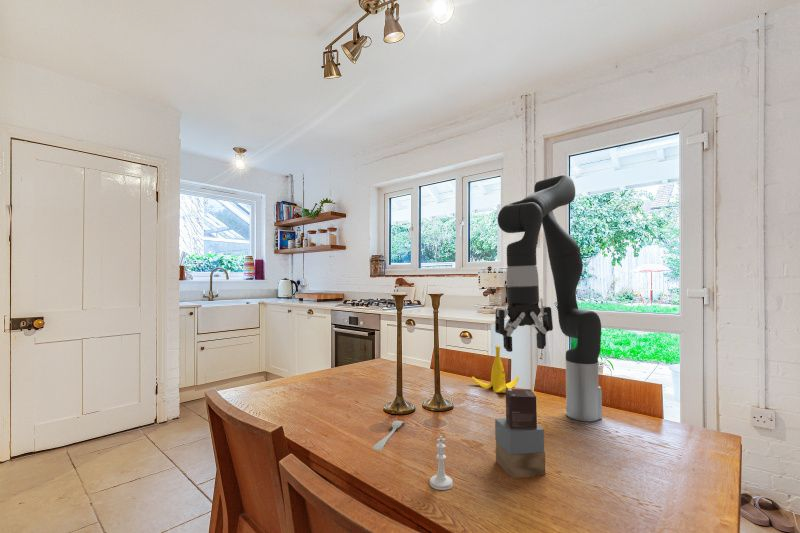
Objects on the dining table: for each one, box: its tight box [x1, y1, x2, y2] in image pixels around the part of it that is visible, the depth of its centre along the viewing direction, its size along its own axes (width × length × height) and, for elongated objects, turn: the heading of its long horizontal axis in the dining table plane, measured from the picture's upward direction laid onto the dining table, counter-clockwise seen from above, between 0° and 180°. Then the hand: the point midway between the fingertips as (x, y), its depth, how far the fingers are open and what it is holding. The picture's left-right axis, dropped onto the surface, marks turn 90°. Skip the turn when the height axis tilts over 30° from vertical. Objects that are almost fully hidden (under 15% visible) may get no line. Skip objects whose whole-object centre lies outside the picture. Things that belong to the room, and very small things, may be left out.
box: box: [505, 388, 538, 429], centre depth 89 cm, size 6×6×7 cm
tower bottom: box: [495, 440, 546, 479], centre depth 89 cm, size 8×8×5 cm
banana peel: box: [471, 345, 520, 394], centre depth 154 cm, size 17×19×17 cm
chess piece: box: [429, 435, 454, 491], centre depth 83 cm, size 5×5×10 cm
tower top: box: [494, 417, 545, 455], centre depth 90 cm, size 8×8×5 cm
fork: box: [372, 420, 407, 451], centre depth 108 cm, size 3×21×3 cm, turn 159°
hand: (524, 349), depth 96 cm, fingers open, 8 cm apart
